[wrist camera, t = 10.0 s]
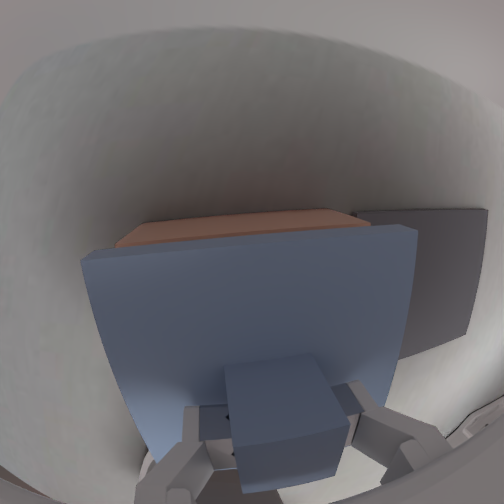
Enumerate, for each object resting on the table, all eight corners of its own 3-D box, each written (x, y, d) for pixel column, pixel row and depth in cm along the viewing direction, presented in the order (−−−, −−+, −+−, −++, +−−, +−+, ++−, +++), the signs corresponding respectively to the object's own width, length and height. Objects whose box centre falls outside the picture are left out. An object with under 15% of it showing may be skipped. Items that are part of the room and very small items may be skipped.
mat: (483, 208, 18) (488, 210, 18) (462, 331, 22) (465, 334, 21) (352, 212, 17) (357, 213, 16) (340, 370, 20) (343, 375, 19)
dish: (327, 208, 16) (370, 222, 12) (321, 358, 19) (348, 403, 14) (142, 223, 15) (114, 244, 10) (172, 376, 18) (166, 429, 13)
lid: (399, 224, 10) (493, 258, 5) (364, 423, 13) (400, 483, 8) (94, 250, 9) (17, 311, 4) (162, 453, 12) (157, 527, 7)
